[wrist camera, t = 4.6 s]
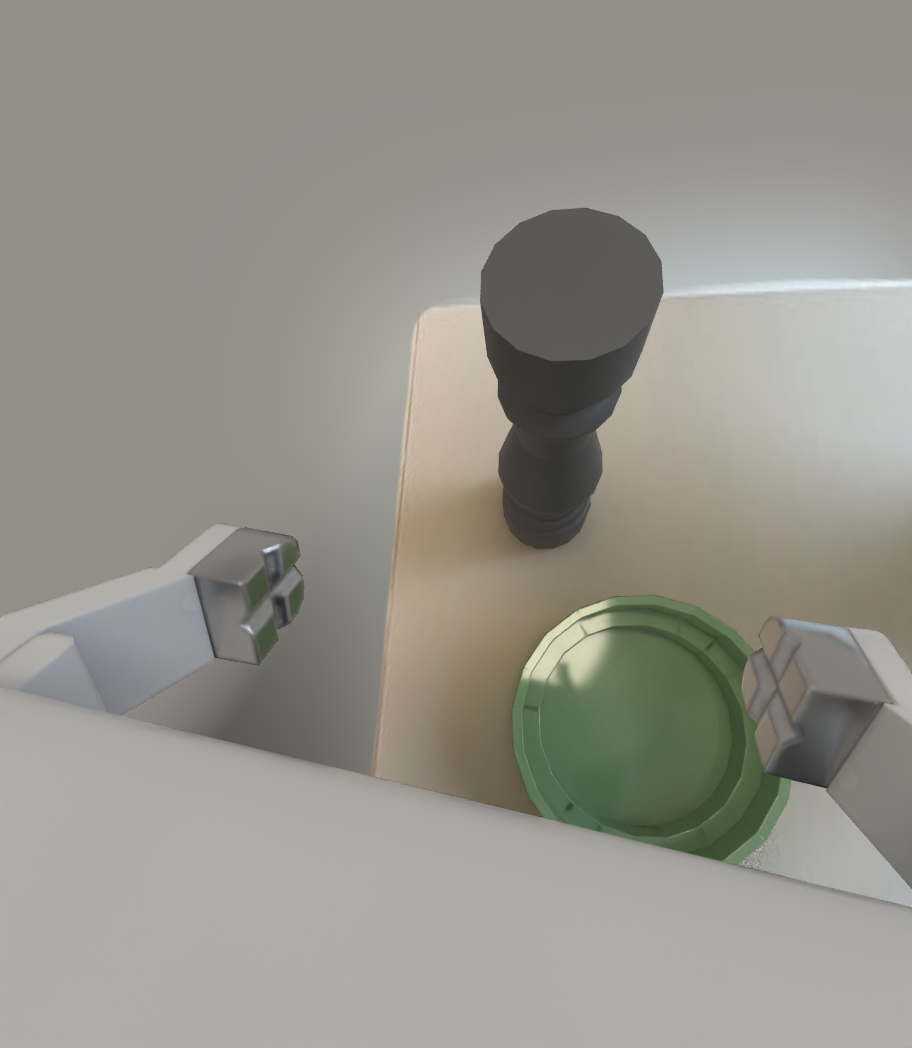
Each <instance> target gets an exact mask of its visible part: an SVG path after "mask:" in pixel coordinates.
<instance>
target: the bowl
mask: <svg viewBox="0 0 912 1048" xmlns="http://www.w3.org/2000/svg"><path fill="white" fill-rule="evenodd" d="M754 652H755V651H754V650H753V649H752V648H751V647H750V646H749V645H748V644H747V643H746V642H745V640H744V639H743V638H742V637H741V636H740V635H739V634H738V633H737V632H736V631H735V630H734V629H732V628H731V627H729V626H727V625H726V624H724V623H723V622H721V621H719V620H718V619H716V618H714V617H713V616H711V615H710V614H708V613H706V612H705V611H703V610H702V609H700V608H698V607H696V606H693V605H689V604H685V603H682V602H678V601H675V600H671V599H667V598H664V597H660V596H655V595H645V596H615V597H611V598H608V599H605V600H602V601H600V602H597V603H594V604H591V605H588V606H585V607H582V608H580V609H577V610H575V611H574V612H573V613H572V614H570V615H569V616H568V617H566V618H565V619H564V620H563V621H561V622H560V623H559V624H557V625H556V626H555V627H554V628H552V629H551V630H550V631H548V632H547V633H546V634H545V635H544V637H543V638H542V640H541V641H540V643H539V644H538V646H537V647H536V649H535V650H534V652H533V653H532V655H531V656H530V658H529V659H528V661H527V662H526V664H525V665H524V668H523V670H522V673H521V677H520V681H519V684H518V688H517V692H516V695H515V699H514V703H513V706H512V721H513V750H514V755H515V758H516V761H517V764H518V767H519V770H520V773H521V776H522V779H523V782H524V784H525V787H526V790H527V793H528V796H529V798H530V799H531V801H532V802H533V803H534V805H535V806H536V808H537V809H538V811H539V812H540V813H541V815H542V816H543V818H546V819H550V820H554V821H558V822H562V823H566V824H570V825H574V826H579V827H583V828H587V829H591V830H595V831H599V832H603V833H607V834H612V835H616V836H620V837H624V838H628V839H632V840H636V841H640V842H645V843H649V844H653V845H657V846H661V847H665V848H669V849H673V850H678V851H682V852H686V853H690V854H694V855H698V856H702V857H706V858H710V859H715V860H719V861H723V862H727V863H731V864H735V865H738V864H739V863H740V862H742V861H743V860H744V859H745V858H746V857H748V856H749V855H750V854H751V853H752V852H754V851H755V850H756V849H757V848H758V847H760V846H761V845H762V844H763V843H764V842H765V841H766V840H767V838H768V837H769V835H770V833H771V831H772V829H773V828H774V826H775V824H776V822H777V820H778V819H779V817H780V815H781V813H782V811H783V810H784V808H785V806H786V804H787V802H788V801H787V800H789V793H790V787H791V781H792V780H790V779H786V778H782V777H777V776H773V775H769V774H765V773H764V770H763V767H762V764H761V760H760V757H759V754H758V751H757V747H756V744H755V741H754V738H753V735H754V733H755V731H756V729H757V727H758V724H757V723H756V722H755V721H754V720H753V719H752V718H751V717H750V716H749V715H748V714H747V713H746V711H745V707H744V703H743V700H742V689H741V686H742V678H743V670H744V668H745V665H746V663H747V660H748V658H749V655H751V654H753V653H754Z"/></svg>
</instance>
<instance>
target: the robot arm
mask: <svg viewBox="0 0 912 1048" xmlns="http://www.w3.org/2000/svg"><path fill="white" fill-rule="evenodd" d="M299 557H300V551H299V545H298V541H297V540H296V539H295V538H294V537H293V536H289V535H284V534H278V533H273V532H268V531H262V530H257V529H252V528H246V527H245V528H243V527H241V526H234V525H228V524H222V523H221V524H214V525H212V526H211V527H210V528H208V529H207V530H206V531H205V532H203V533H202V534H201V535H200V536H198V537H197V538H196V539H195V540H193V541H192V542H191V543H190V544H188V545H187V546H186V547H185V548H183V549H182V550H181V551H180V552H178V553H177V554H176V555H175V556H173V557H172V558H171V559H170V560H168V561H167V562H166V563H165V564H163V565H162V566H161V567H160V568H158V569H157V568H151V567H150V568H147V569H144V570H140V571H138V572H134V573H131V574H128V575H125V576H122V577H119V578H116V579H112V580H109V581H106V582H103V583H100V584H97V585H94V586H91V587H88V588H84V589H81V590H78V591H75V592H72V593H69V594H66V595H63V596H60V597H56V598H54V599H50V600H47V601H44V602H41V603H38V604H35V605H32V606H28V607H25V608H22V609H19V610H16V611H13V612H10V613H7V614H4V615H1V616H0V1048H912V907H908V906H904V905H900V904H896V903H892V902H887V901H883V900H879V899H875V898H871V897H867V896H863V895H859V894H855V893H850V892H846V891H842V890H838V889H834V888H830V887H826V886H822V885H818V884H813V883H809V882H805V881H801V880H797V879H793V878H789V877H785V876H781V875H776V874H772V873H768V872H764V871H760V870H756V869H752V868H748V867H743V866H739V865H735V864H731V863H727V862H723V861H719V860H715V859H710V858H706V857H702V856H698V855H694V854H690V853H686V852H682V851H678V850H673V849H669V848H665V847H661V846H657V845H653V844H649V843H645V842H640V841H636V840H632V839H628V838H624V837H620V836H616V835H612V834H607V833H603V832H599V831H595V830H591V829H587V828H583V827H579V826H574V825H570V824H566V823H562V822H558V821H554V820H550V819H546V818H541V817H537V816H533V815H529V814H525V813H521V812H517V811H513V810H508V809H504V808H500V807H496V806H492V805H488V804H484V803H480V802H476V801H471V800H467V799H463V798H459V797H455V796H451V795H447V794H443V793H438V792H434V791H430V790H426V789H422V788H418V787H414V786H410V785H405V784H401V783H397V782H393V781H389V780H385V779H381V778H377V777H372V776H368V775H364V774H360V773H356V772H352V771H348V770H344V769H339V768H335V767H331V766H327V765H323V764H319V763H315V762H311V761H306V760H302V759H298V758H294V757H290V756H286V755H282V754H277V753H273V752H269V751H265V750H261V749H257V748H253V747H249V746H245V745H241V744H236V743H232V742H228V741H224V740H220V739H215V738H212V737H207V736H203V735H199V734H195V733H191V732H187V731H183V730H178V729H175V728H170V727H166V726H162V725H158V724H154V723H149V722H145V721H141V720H137V719H133V718H129V717H125V716H121V715H123V714H125V713H126V712H128V711H130V710H132V709H133V708H135V707H137V706H138V705H140V704H142V703H143V702H145V701H147V700H148V699H150V698H152V697H153V696H155V695H157V694H159V693H160V692H162V691H164V690H165V689H167V688H169V687H170V686H172V685H174V684H176V683H177V682H179V681H180V680H182V679H184V678H186V677H187V676H189V675H191V674H192V673H194V672H196V671H197V670H199V669H201V668H202V667H204V666H206V665H208V664H209V663H211V662H213V661H214V660H215V658H220V659H225V660H230V661H236V662H242V663H247V664H253V665H258V666H259V665H260V664H261V662H262V661H263V660H264V658H265V657H266V656H267V654H268V653H269V652H270V651H271V649H272V648H273V647H274V645H275V644H276V643H277V641H278V635H277V630H278V629H280V628H283V627H285V626H287V625H289V624H290V623H291V622H292V621H293V620H294V618H295V617H296V615H297V614H298V612H299V609H300V606H301V604H302V601H303V595H304V580H303V575H302V574H301V573H300V571H299V570H298V569H297V568H296V566H295V565H294V564H295V563H296V561H297V560H298V559H299ZM759 638H760V640H761V643H762V646H763V648H761V649H760V650H758V651H756V652H754V653H753V654H751V655H749V658H748V660H747V663H746V665H745V668H744V670H743V678H742V686H741V689H742V700H743V703H744V707H745V711H746V713H747V714H748V715H749V716H750V717H751V718H752V719H753V720H754V721H755V722H756V723H757V724H758V727H757V729H756V731H755V733H754V735H753V738H754V741H755V744H756V747H757V751H758V754H759V757H760V760H761V764H762V767H763V770H764V773H765V774H769V775H773V776H777V777H782V778H786V779H790V780H794V781H798V782H803V783H807V784H811V785H815V786H819V787H823V788H827V790H826V791H827V793H828V794H829V795H830V796H831V797H832V798H833V799H834V801H835V802H836V803H837V804H838V805H839V806H840V807H841V809H842V810H843V811H844V812H845V813H846V814H847V815H848V817H849V818H850V819H851V820H852V821H853V822H854V823H855V825H856V826H857V827H858V828H859V829H860V830H861V831H862V833H863V834H864V835H865V836H866V837H867V838H868V839H869V841H870V842H871V843H872V844H873V845H874V846H875V847H876V849H877V850H878V851H879V852H880V853H881V854H882V855H883V857H884V858H885V859H886V860H887V861H888V862H889V863H890V865H891V866H892V867H893V868H894V869H895V870H896V871H897V873H898V874H899V875H900V876H901V877H902V878H903V879H904V881H905V882H906V883H907V884H908V885H909V886H910V887H911V889H912V673H911V671H910V670H909V668H908V667H907V666H906V664H905V663H904V661H903V660H902V658H901V657H900V655H899V654H898V653H897V651H896V650H895V648H894V647H893V645H892V644H891V642H890V641H889V639H888V638H887V637H886V636H885V635H883V634H882V633H880V632H878V631H874V630H867V629H860V628H852V627H845V626H840V627H839V626H833V625H826V624H820V623H813V622H807V621H801V620H794V619H788V618H781V617H775V616H770V617H769V618H768V619H767V620H766V621H765V622H764V624H763V626H762V628H761V631H760V633H759Z"/></svg>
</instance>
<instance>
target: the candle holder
mask: <svg viewBox="0 0 912 1048" xmlns="http://www.w3.org/2000/svg"><path fill="white" fill-rule="evenodd" d="M662 295H663V280H662V264H661V260H660V258H659V257H658V255H657V253H656V252H655V250H654V248H653V247H652V245H651V243H650V242H649V240H648V238H647V237H646V235H645V234H643V233H642V232H641V231H639V230H638V229H636V228H635V227H633V226H632V225H631V224H629V223H628V222H626V221H625V220H623V219H622V218H621V217H619V216H615V215H612V214H608V213H604V212H600V211H596V210H592V209H588V208H577V209H564V210H551V211H548V212H546V213H543V214H541V215H538V216H536V217H533V218H531V219H529V220H526V221H524V222H521V223H519V224H518V225H517V226H516V227H515V228H514V229H512V230H511V231H510V232H509V233H508V234H507V235H505V236H504V238H502V239H501V240H500V241H499V242H497V243H496V244H495V246H494V248H493V250H492V252H491V254H490V256H489V258H488V260H487V262H486V264H485V265H484V268H483V269H482V271H481V295H480V303H481V311H482V319H483V326H484V334H485V342H486V350H487V357H488V359H489V361H490V364H491V366H492V368H493V370H494V373H495V375H496V377H497V379H498V398H499V401H500V403H501V405H502V407H503V410H504V412H505V414H506V416H507V418H508V419H509V420H510V421H511V422H512V423H513V426H512V428H511V429H510V431H509V433H508V435H507V437H506V440H505V442H504V444H503V446H502V448H501V450H500V452H499V477H500V479H501V482H502V484H503V509H504V516H505V519H506V521H507V524H508V526H509V529H510V531H511V532H512V533H513V534H514V535H515V536H516V537H517V538H518V539H519V540H520V541H521V542H523V543H525V544H528V545H530V546H533V547H535V548H555V547H558V546H560V545H563V544H566V543H568V542H569V541H570V540H571V539H572V538H573V537H574V536H575V535H576V534H578V533H579V532H580V529H581V527H582V525H583V522H584V520H585V517H586V515H587V512H588V510H589V507H590V496H591V495H592V494H593V493H594V491H595V489H596V486H597V484H598V482H599V479H600V477H601V474H602V451H601V447H600V444H599V441H598V437H597V433H596V429H597V428H599V427H600V426H601V425H602V424H603V423H604V422H605V421H606V420H607V419H608V418H609V417H610V416H611V415H612V413H613V410H614V408H615V406H616V403H617V401H618V399H619V396H620V394H621V386H622V385H623V384H624V383H625V382H626V381H627V380H628V379H629V378H630V377H631V376H632V373H633V371H634V369H635V366H636V364H637V362H638V359H639V357H640V355H641V352H642V350H643V347H644V344H645V342H646V339H647V336H648V333H649V330H650V328H651V325H652V322H653V319H654V317H655V314H656V311H657V308H658V306H659V303H660V300H661V297H662Z"/></svg>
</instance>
